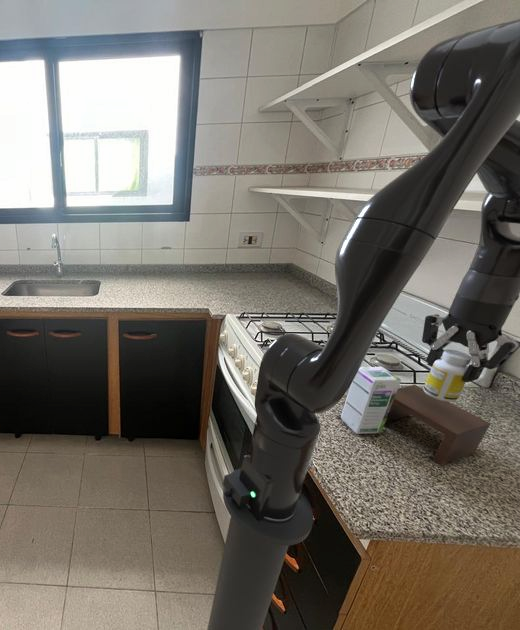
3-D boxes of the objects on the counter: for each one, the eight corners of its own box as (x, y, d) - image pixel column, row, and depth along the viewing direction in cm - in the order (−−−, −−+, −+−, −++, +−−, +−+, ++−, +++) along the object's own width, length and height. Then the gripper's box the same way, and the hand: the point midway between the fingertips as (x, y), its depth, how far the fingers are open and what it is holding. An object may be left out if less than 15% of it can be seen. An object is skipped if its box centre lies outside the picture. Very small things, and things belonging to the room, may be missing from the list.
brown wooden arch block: (441, 465, 70) (457, 434, 66) (372, 420, 82) (383, 392, 79) (474, 453, 72) (491, 423, 69) (402, 411, 84) (414, 384, 81)
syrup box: (356, 434, 77) (376, 380, 72) (339, 417, 83) (356, 365, 77) (381, 434, 78) (403, 380, 72) (362, 416, 83) (381, 364, 77)
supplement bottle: (457, 394, 72) (477, 354, 68) (456, 406, 69) (477, 364, 65) (423, 384, 76) (440, 345, 72) (420, 394, 72) (438, 354, 69)
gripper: (427, 285, 69) (398, 358, 76) (526, 312, 56) (481, 397, 63) (453, 281, 71) (422, 353, 78) (554, 306, 58) (507, 389, 65)
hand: (449, 372), depth 70 cm, fingers closed on supplement bottle, 5 cm apart
